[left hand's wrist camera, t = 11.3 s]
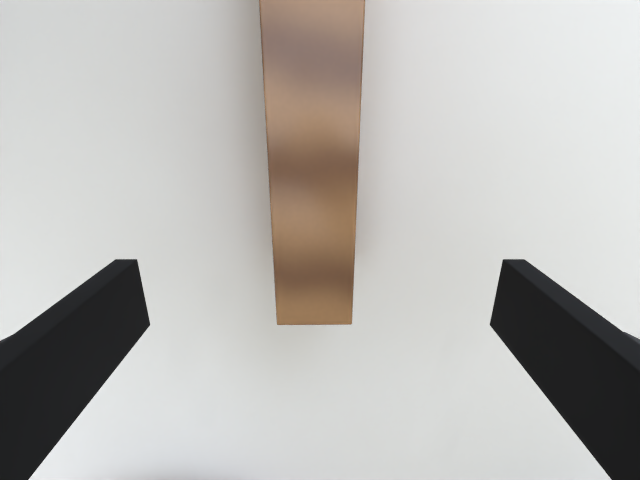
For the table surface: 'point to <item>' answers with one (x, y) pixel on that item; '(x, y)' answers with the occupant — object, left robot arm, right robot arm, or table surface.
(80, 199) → the table surface
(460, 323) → the table surface
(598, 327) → the left robot arm
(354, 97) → the post
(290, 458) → the table surface
